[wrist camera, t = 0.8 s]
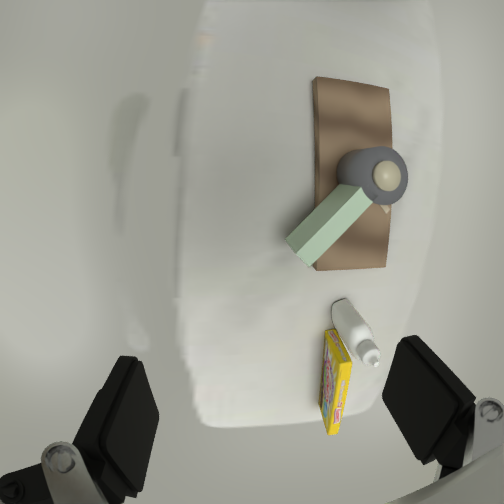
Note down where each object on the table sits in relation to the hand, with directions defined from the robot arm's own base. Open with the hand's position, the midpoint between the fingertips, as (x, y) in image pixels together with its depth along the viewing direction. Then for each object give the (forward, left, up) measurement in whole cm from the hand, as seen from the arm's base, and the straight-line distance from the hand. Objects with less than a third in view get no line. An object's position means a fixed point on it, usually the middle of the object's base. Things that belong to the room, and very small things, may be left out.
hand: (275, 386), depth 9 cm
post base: (-7, +14, -26) cm, 30 cm away
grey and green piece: (-4, +10, -24) cm, 27 cm away
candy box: (+23, +12, -27) cm, 37 cm away
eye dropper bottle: (+13, +14, -27) cm, 32 cm away
